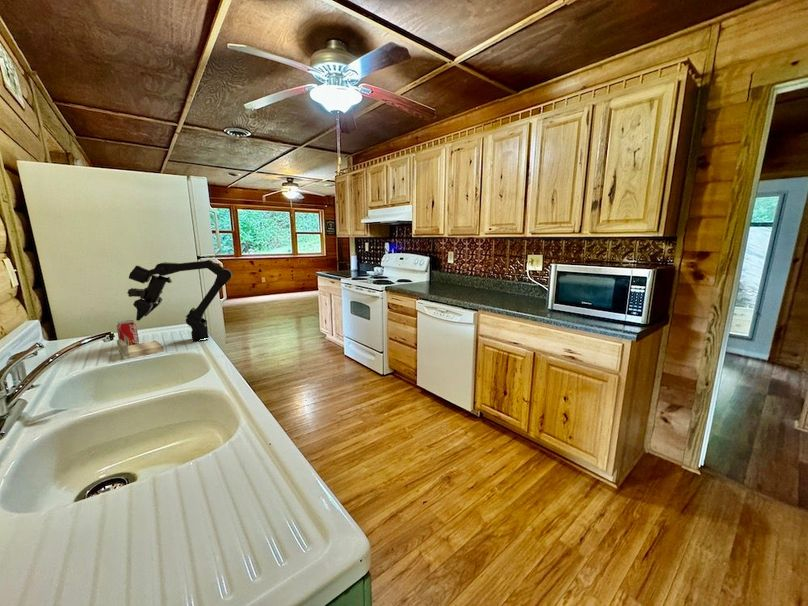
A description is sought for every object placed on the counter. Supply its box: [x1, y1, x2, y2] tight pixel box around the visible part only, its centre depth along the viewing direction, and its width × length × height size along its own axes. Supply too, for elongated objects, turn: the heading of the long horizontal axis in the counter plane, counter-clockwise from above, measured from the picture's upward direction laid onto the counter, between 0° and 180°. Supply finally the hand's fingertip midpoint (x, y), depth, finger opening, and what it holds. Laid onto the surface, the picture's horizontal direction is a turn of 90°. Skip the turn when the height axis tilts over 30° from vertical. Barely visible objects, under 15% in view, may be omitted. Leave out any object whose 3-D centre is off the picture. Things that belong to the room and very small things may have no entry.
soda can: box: [116, 319, 140, 346], centre depth 153 cm, size 7×7×12 cm
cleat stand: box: [116, 339, 164, 360], centre depth 145 cm, size 14×12×6 cm
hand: (141, 318), depth 152 cm, fingers open, 9 cm apart
